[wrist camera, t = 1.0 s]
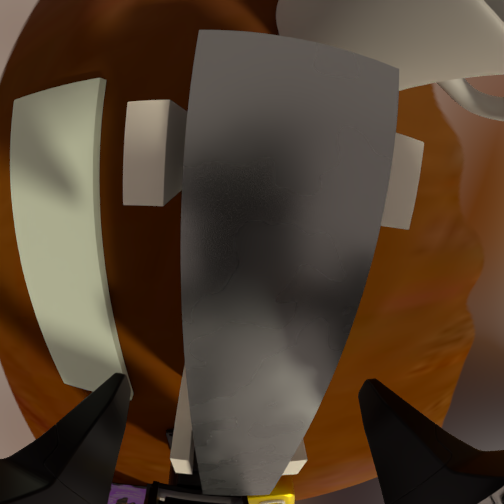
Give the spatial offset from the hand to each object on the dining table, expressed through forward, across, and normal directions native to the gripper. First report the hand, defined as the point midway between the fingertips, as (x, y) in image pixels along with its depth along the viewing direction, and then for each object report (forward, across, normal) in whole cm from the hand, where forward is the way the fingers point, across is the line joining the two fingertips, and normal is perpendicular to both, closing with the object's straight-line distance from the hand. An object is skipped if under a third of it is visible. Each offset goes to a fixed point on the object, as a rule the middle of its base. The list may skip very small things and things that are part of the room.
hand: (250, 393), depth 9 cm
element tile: (+8, -3, +38) cm, 39 cm away
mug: (+8, -6, -15) cm, 18 cm away
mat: (+8, +12, 0) cm, 14 cm away
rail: (+3, 0, 0) cm, 3 cm away
